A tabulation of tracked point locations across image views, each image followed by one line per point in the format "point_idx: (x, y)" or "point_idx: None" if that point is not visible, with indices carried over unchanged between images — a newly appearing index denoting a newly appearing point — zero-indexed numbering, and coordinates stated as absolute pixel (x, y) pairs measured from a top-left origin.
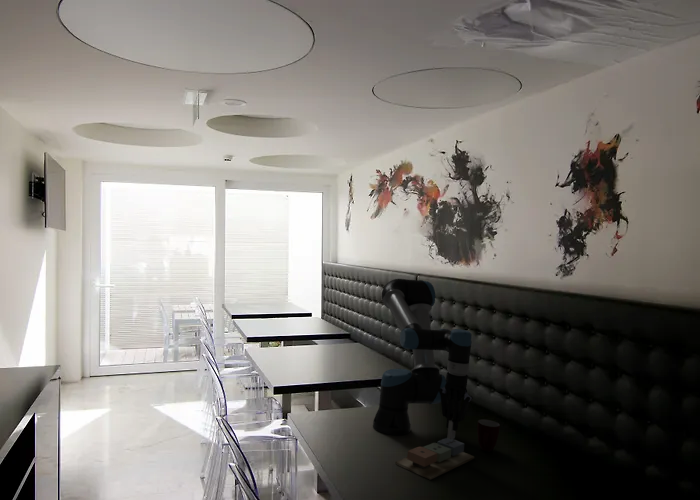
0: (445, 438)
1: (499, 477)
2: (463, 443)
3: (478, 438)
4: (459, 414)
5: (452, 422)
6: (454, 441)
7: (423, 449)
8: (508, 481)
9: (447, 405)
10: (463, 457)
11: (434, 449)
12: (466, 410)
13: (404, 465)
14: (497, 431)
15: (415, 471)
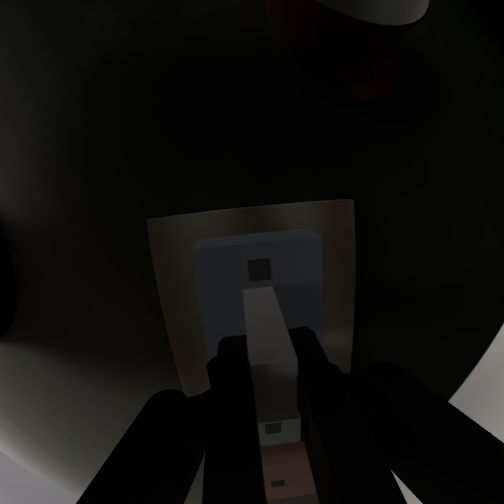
0: (200, 283)
1: (471, 267)
2: (317, 242)
3: (293, 48)
4: (394, 467)
5: (297, 413)
6: (265, 270)
7: (264, 473)
8: (491, 265)
9: (146, 493)
10: (330, 264)
11: (276, 433)
12: (481, 437)
13: None
14: (413, 3)
15: None
